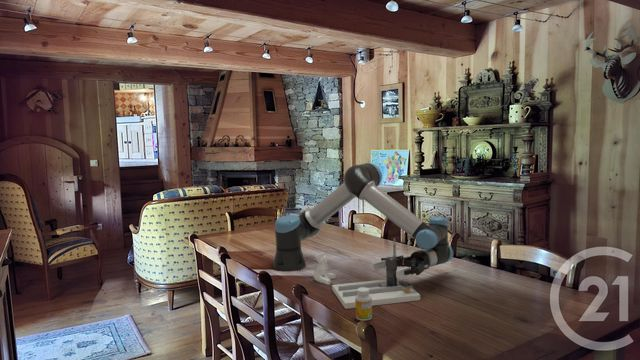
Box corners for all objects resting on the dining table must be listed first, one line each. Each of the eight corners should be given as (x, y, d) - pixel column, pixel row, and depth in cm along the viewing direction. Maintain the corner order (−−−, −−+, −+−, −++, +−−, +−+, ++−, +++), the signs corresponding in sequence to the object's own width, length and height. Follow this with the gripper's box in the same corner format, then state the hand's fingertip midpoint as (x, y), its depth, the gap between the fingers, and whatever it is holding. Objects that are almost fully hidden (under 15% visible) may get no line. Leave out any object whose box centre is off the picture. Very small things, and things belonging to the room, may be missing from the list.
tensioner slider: (388, 295, 160) (388, 264, 158) (379, 286, 169) (379, 257, 168) (417, 292, 162) (416, 262, 161) (406, 283, 171) (406, 255, 170)
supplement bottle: (354, 315, 148) (353, 287, 148) (370, 314, 149) (369, 286, 148) (357, 321, 143) (356, 292, 142) (373, 320, 144) (372, 291, 143)
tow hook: (385, 261, 211) (385, 266, 202) (385, 234, 211) (385, 238, 201) (403, 261, 210) (404, 266, 201) (403, 235, 209) (403, 238, 200)
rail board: (345, 308, 154) (345, 298, 154) (332, 289, 174) (332, 280, 173) (420, 300, 160) (420, 289, 159) (399, 282, 179) (399, 273, 179)
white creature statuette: (329, 285, 179) (328, 256, 178) (309, 283, 182) (308, 255, 181) (336, 278, 188) (335, 250, 187) (317, 276, 191) (316, 249, 190)
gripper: (448, 275, 168) (409, 288, 156) (401, 262, 188) (363, 273, 175) (447, 256, 168) (408, 267, 155) (400, 244, 187) (362, 254, 174)
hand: (384, 270), depth 165 cm, fingers open, 12 cm apart
